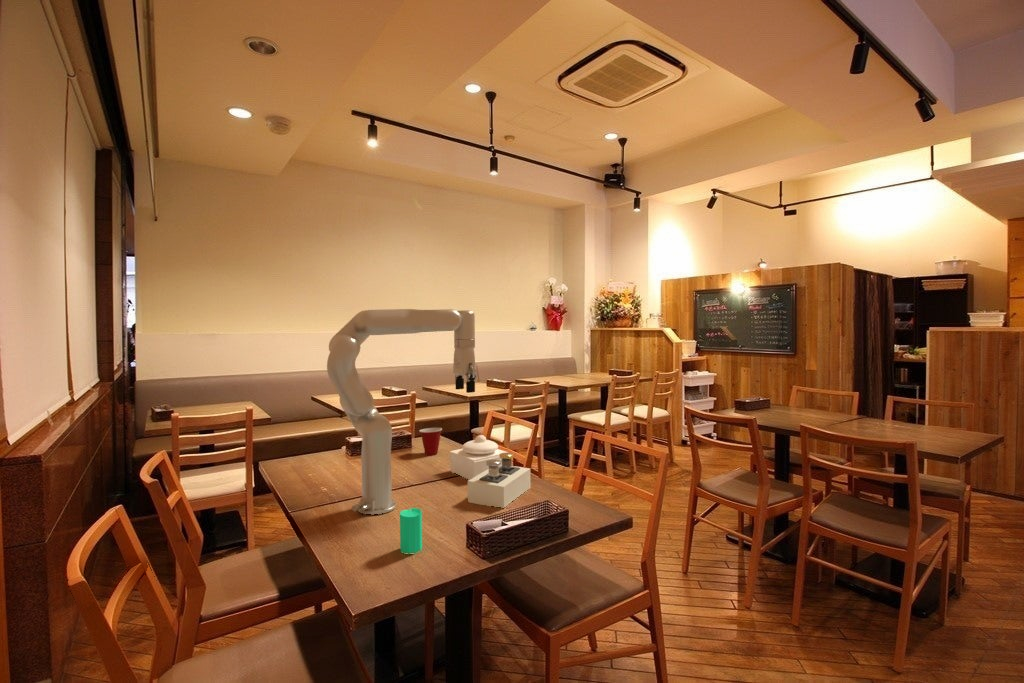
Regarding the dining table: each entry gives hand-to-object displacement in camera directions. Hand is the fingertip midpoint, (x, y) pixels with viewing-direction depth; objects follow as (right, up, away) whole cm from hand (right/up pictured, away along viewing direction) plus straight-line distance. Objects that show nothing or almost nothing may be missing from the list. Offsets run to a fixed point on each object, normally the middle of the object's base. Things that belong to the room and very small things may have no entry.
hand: (465, 390), depth 176 cm
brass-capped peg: (+15, -32, +1) cm, 35 cm away
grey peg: (+11, -32, -8) cm, 35 cm away
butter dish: (+4, -37, +23) cm, 44 cm away
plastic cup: (-21, -36, +52) cm, 67 cm away
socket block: (+13, -37, -3) cm, 40 cm away
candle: (-10, -39, -44) cm, 60 cm away
